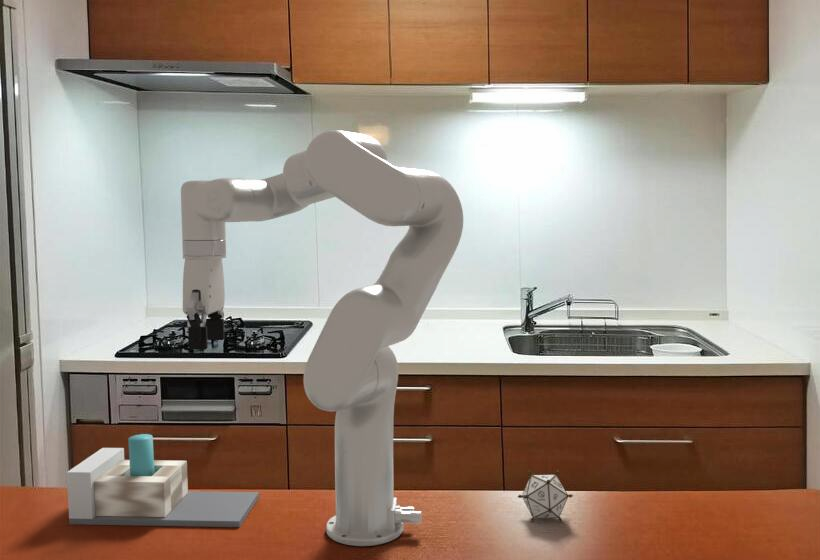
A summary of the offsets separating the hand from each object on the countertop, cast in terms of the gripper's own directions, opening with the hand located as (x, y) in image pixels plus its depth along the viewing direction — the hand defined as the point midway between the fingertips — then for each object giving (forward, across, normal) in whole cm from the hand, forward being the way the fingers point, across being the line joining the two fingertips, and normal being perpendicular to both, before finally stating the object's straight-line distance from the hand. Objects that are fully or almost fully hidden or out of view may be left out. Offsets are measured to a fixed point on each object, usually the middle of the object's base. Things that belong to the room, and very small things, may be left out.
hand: (207, 344), depth 136 cm
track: (+28, +7, -6) cm, 30 cm away
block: (+27, +7, -10) cm, 30 cm away
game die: (+29, +8, +60) cm, 67 cm away
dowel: (+27, +7, -10) cm, 30 cm away
